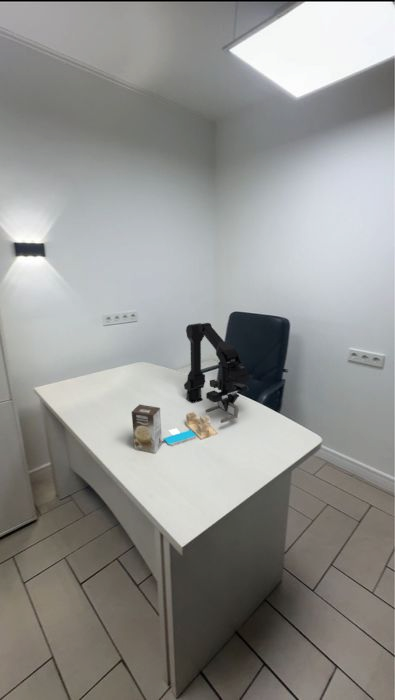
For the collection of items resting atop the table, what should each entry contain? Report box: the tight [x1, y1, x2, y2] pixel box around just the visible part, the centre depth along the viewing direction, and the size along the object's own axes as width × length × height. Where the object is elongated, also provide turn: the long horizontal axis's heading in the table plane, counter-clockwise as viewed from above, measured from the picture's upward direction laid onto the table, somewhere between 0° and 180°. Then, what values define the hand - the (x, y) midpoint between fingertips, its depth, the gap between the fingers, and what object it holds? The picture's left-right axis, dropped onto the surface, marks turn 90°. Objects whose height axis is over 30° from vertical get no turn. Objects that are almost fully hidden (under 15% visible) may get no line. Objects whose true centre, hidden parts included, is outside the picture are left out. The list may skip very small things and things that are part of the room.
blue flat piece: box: [162, 427, 197, 447], centre depth 126 cm, size 20×12×2 cm, turn 118°
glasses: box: [204, 401, 239, 424], centre depth 133 cm, size 8×12×5 cm
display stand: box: [184, 411, 218, 440], centre depth 130 cm, size 8×14×5 cm, turn 28°
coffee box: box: [131, 403, 163, 454], centre depth 116 cm, size 9×6×16 cm
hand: (227, 410), depth 135 cm, fingers closed on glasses
